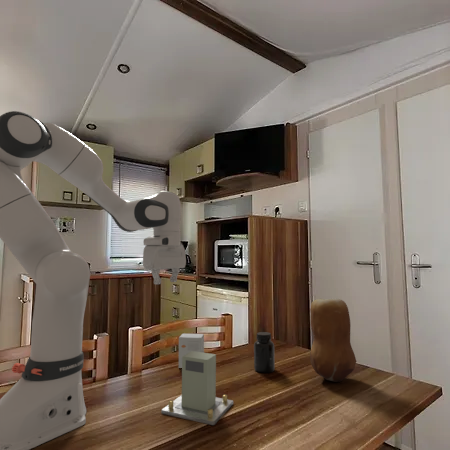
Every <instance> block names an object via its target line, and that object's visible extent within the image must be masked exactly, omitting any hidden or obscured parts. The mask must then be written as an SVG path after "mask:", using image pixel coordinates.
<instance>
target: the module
mask: <svg viewBox="0 0 450 450" xmlns="http://www.w3.org/2000/svg"><path fill="white" fill-rule="evenodd" d="M216 370H217V354H214V353H207V352H204V353H202V352H195V351H191V352H189V353H188V354H186V355H184V356H182V369H181V395H182V402H181V406H183V407H187V408H192V409H197V410H201V411H206V412H207V411H208V409H210V408H211V407H212V406H213V405H214V404H215V403H216V397H217V395H216V394H217V393H216V389H217V388H216V387H217V385H216V383H217V379H216V377H217V371H216Z"/></svg>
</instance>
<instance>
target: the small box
mask: <svg viewBox="0 0 450 450" xmlns="http://www.w3.org/2000/svg"><path fill="white" fill-rule="evenodd" d="M191 351H195V352H202V353H205V335H204V333H182V334H181V335H180V336H179V337H178V369H179V368H182V356H184V355H186V354H188V353H189V352H191Z"/></svg>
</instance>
